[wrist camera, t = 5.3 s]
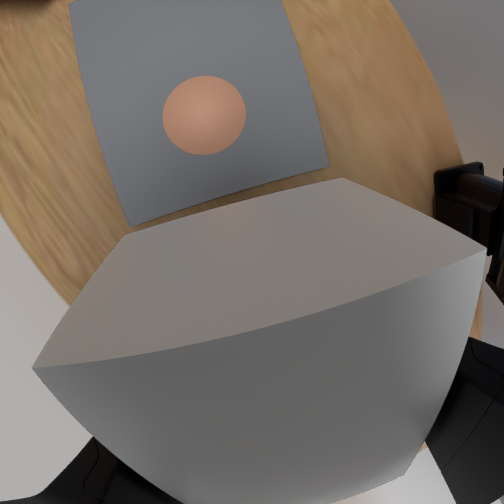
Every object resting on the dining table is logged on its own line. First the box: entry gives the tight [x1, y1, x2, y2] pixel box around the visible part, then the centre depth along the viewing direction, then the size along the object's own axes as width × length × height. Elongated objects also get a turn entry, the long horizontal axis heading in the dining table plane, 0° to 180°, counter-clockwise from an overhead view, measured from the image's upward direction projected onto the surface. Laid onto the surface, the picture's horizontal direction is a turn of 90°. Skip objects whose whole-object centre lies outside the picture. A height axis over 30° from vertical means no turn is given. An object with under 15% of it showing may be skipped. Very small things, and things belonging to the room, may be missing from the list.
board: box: [69, 0, 330, 227], centre depth 14 cm, size 13×17×1 cm
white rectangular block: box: [32, 178, 487, 504], centre depth 7 cm, size 6×8×5 cm
